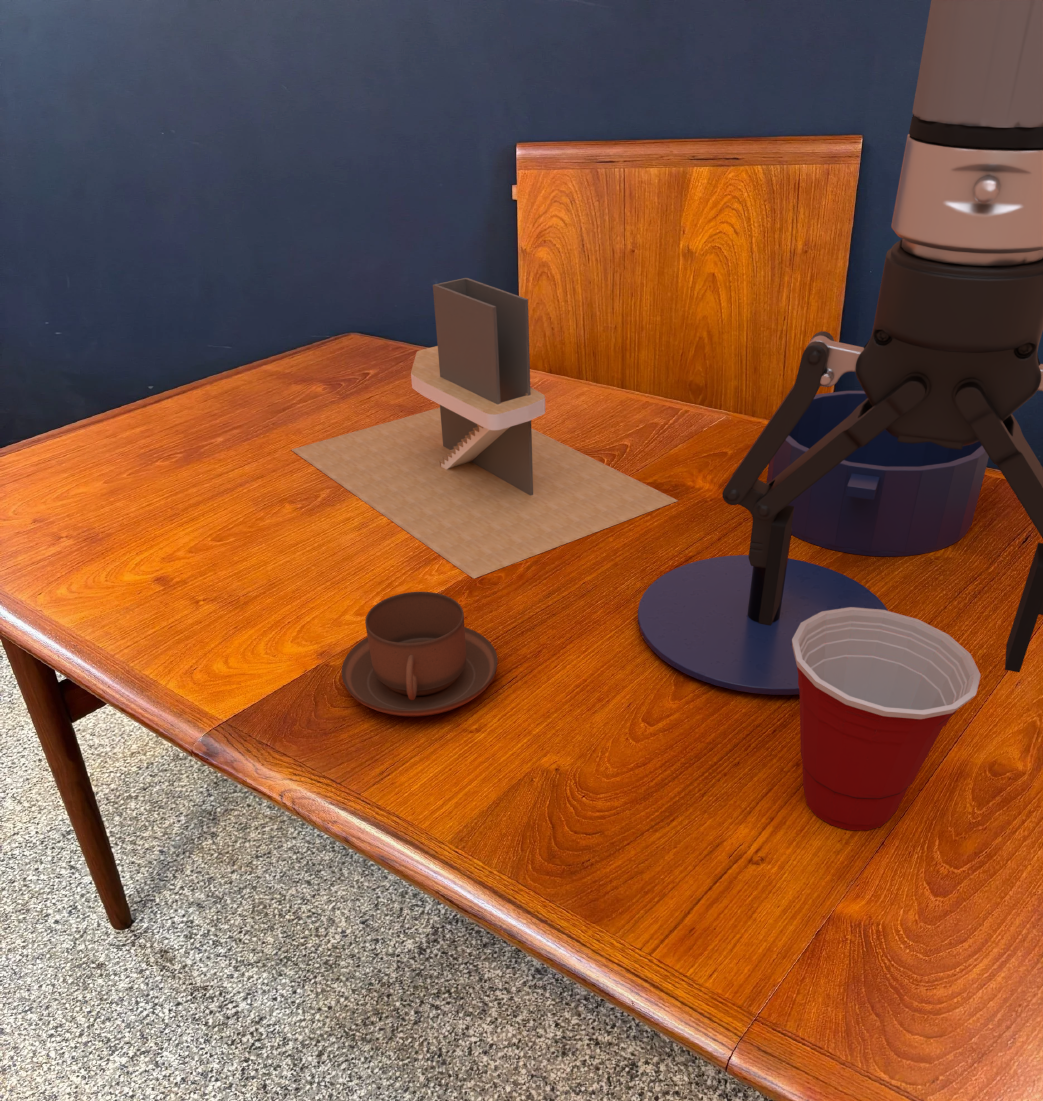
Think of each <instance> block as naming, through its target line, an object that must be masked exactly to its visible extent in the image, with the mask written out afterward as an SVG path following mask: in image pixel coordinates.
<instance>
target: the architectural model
mask: <svg viewBox="0 0 1043 1101" xmlns="http://www.w3.org/2000/svg"><path fill="white" fill-rule="evenodd" d="M432 290H433V291H432V294H433V305H434V306H433V307H434V317H435V330H436V342H437V343H436V344H437V345H435V346H432V347H427V348H424V349H420V350H418V351H416V353H415V357H414V360H413V362H412V363H413V364H412V367H411V371H410V377H411V388H412V389H413V390H414V391H416V392H417V393H418V394H420V395H421V396H422V397H424V398H426V399H429V400H430V401H432V402H434V403H436V404H438V405H439V407H437V408H433V409H430V410H426V411H422V412H419V413H415V414H412V415H409V416H405V417H402V418H398V419H394V420H391V421H387V422H384V423H379V424H376V425H372V426H370V427H366V428H363V429H359V430H358V429H357V430H355V431H352V432H349V433H344V434H341V435H338V436H334V437H330V438H327V439H324V440H319V441H317V442H313V443H309V444H305V445H301V446H299V447H295V448H291V449H290V450H291V451H292V452H293V453H295V454H296V455H298V456H299V458H302V459H303V460H305V461H306V462H307V463H309V464H310V465H312V466H313V467H314V468H316V469H318V470H319V471H320V472H321V473H323V474H325V475H326V476H328V477H329V478H330V479H331V480H333V481H334V482H336V483H337V484H338V485H340V486H341V487H343V488H344V489H345V490H347V491H348V492H350V493H351V494H352V495H354V496H356V497H357V498H358V499H360V500H361V501H363V502H364V503H366V504H367V505H368V506H370V507H371V508H373V510H376V511H377V512H378V513H380V514H381V515H383V517H385V518H387V519H388V520H390V522H393V523H394V524H395V525H396V526H398V527H399V528H402V530H404V531H405V532H406V533H408V534H409V535H411V536H412V537H414V538H415V539H416V540H418V541H419V542H421V543H422V544H424V545H425V546H426V547H428V548H429V549H430V550H432V551H434V552H435V553H437V555H439V556H441V557H442V558H444V560H446V561H448V562H449V563H450V564H452V565H454V566H455V567H456V568H458V569H459V570H460V571H462V572H463V573H464V574H466V575H468V576H469V577H471V578H472V579H477V578H479V577H483V576H485V575H487V574H490V573H493V572H496V571H498V570H500V569H503V568H506V567H509V566H511V565H514V564H517V563H519V562H522V561H524V560H527V559H529V558H532V557H535V556H537V555H540V554H542V553H545V552H548V551H550V550H553V549H555V548H559V547H561V546H563V545H566V544H568V543H572V542H574V541H576V540H579V539H582V538H585V537H587V536H590V535H592V534H594V533H597V532H600V531H603V530H605V529H608V528H610V527H613V526H616V525H618V524H621V523H624V522H627V521H629V520H632V519H634V518H637V517H639V516H643V515H644V514H648V513H650V512H652V511H655V510H657V509H661V508H664V507H665V506H669V505H671V504H673V503H676V502H679V500H678V499H675V498H674V497H672V496H670V495H668V494H666V493H663V492H662V491H660V490H657V489H655V488H654V487H652V486H649V485H648V484H645V483H644V482H642V481H639V480H638V479H635V478H634V477H632V476H629V475H627V474H625V473H624V472H621V471H619V470H617V469H615V468H613V467H611V466H609V465H607V464H606V463H604V462H601V461H599V460H598V459H595V458H593V457H591V456H589V455H586V454H585V453H582V452H581V451H579V450H577V449H574V448H573V447H570V446H569V445H567V444H564V443H562V442H560V441H558V440H556V439H555V438H552V437H551V436H548V435H546V434H544V433H542V432H540V431H538V430H536V429H535V428H532V420H534V419H537V418H539V417H541V416H543V415H545V414H546V395H545V394H543V393H542V392H540V391H538V390H537V389H535V388H534V387H531V361H530V360H531V359H530V356H531V355H530V323H529V319H530V318H529V299H528V298H525V297H522V296H521V295H517V294H514V293H512V292H509V291H506V290H503V289H500V288H497V287H495V286H491V285H489V284H486V283H483V282H480V281H477V280H475V279H472V278H468V277H463V278H459V279H453V280H449V281H445V282H440V283H435V284H432Z"/></svg>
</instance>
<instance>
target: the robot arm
mask: <svg viewBox="0 0 1043 1101" xmlns="http://www.w3.org/2000/svg"><path fill="white" fill-rule="evenodd" d="M922 47H923V48H922V53H921V59H920V65H919V70H918V75H917V76H918V77H917V83H916V89H915V95H914V100H913V105H912V112H911V114H912V117H911V120H910V125H909V131H908V134H907V136H906V142H905V148H904V152H903V158H902V163H901V170H900V175H899V180H898V187H897V192H896V197H895V203H894V209H893V215H892V218H891V219H892V221H891V226H890V228H891V229H892V230H893V231H894V233H895V234H896V236H897V237H898V238H900V239H899V240H897V242H895V243H894V244H893V245H892V247H891V248H889V249H888V250H887V251H886V254H885V259H884V265H883V271H882V276H881V281H880V282H881V283H880V287H879V293H878V299H877V303H876V304H877V305H876V310H875V315H874V320H873V326H872V331H871V335H870V338H869V339H868V341H867V342H866V344H865V345H864V346H859V345H855V344H854V345H853V344H849V343H844V342H841V341H840V342H839V341H836V340H835V339H834V336H833V334H831V333H830V332H828V331H823V330H821V331H818V332H816V333H814V335H813V336H812V337H811V339H810V340H809V342H808V343H807V345H806V347H805V349H804V351H803V352H802V355H801V359H800V362H799V367H798V370H797V374H796V378H795V382H794V384H793V385H792V387H791V389H790V390H789V391H788V392H787V394H786V396H785V397H784V399H783V400H782V401H781V402H780V405H778V407H777V409H776V410H775V412H774V413H773V415H772V416H771V418H770V419H769V420H768V422H767V423H766V424H765V426H764V428H763V429H762V431H761V432H760V434H758V436H757V437H756V439H755V441H754V442H753V443H752V445H751V446H750V448H749V449H748V451H747V453H746V454H745V455H744V457H743V458H742V459H741V461H740V462H739V465H737V467H736V469H735V470H734V472H733V473H732V475H731V477H730V479H728V481H727V483H726V485H725V487H724V488H723V490H722V493H721V494H722V495H721V496H722V499H723V501H724V502H725V503H726V504H727V505H730V506H736V505H738V506H740V507H743V508H744V509H746V510H747V511H749V512H750V514H751V518H752V523H751V524H752V525H751V534H750V541H749V542H750V543H749V551H748V555H749V557H748V558H749V561H750V564H751V566H755V567H761V568H766V571H765V578H764V585H763V593H762V600H761V608H760V615H759V624H765V625H770V626H771V625H772V622H773V620H774V617H775V615H776V612H777V610H778V607H779V605H780V601H781V594H782V587H783V581H784V574H785V567H786V560H787V553H788V547H789V540H790V533H791V526H792V520H793V513H794V506H790V505H788V504H790V503H791V502H792V501H793V500H795V499H796V498H797V497H798V496H800V495H801V494H802V493H803V492H805V491H806V490H807V489H808V488H810V487H811V486H812V485H813V484H815V483H816V482H817V481H818V480H820V479H821V478H822V477H823V476H824V475H826V474H827V473H828V472H829V471H831V470H832V469H833V468H834V467H836V466H837V465H838V464H839V463H841V462H842V461H843V460H844V459H846V458H847V457H848V456H849V455H851V454H852V453H853V452H854V451H856V450H857V449H858V448H860V447H863V446H865V445H866V444H868V443H869V442H870V441H871V440H873V439H874V438H875V437H876V436H878V435H879V434H880V433H881V432H883V431H884V430H886V431H887V432H888V433H890V434H891V435H892V436H894V437H896V438H898V440H897V442H903V443H911V444H915V443H924V442H932V443H934V444H937V445H940V446H942V447H945V448H951V449H959V450H962V447H963V446H967V445H971V444H974V443H976V442H978V441H980V443H981V445H982V446H983V448H984V449H985V451H986V453H987V454H988V456H989V459H990V460H991V462H992V463H993V464H994V465H996V467H997V468H998V470H999V471H1000V472H1001V474H1002V476H1003V477H1004V479H1005V481H1006V482H1007V483H1008V485H1009V487H1010V488H1011V490H1012V491H1013V493H1014V495H1015V496H1016V498H1017V500H1018V501H1019V503H1020V505H1021V506H1022V508H1023V509H1024V511H1025V513H1026V515H1027V516H1028V517H1029V519H1030V520H1031V523H1032V524H1033V526H1034V527H1035V528H1036V530H1037V532H1038V533H1039V535H1040V537H1041V538H1042V539H1043V466H1042V465H1041V462H1040V461H1039V460H1038V458H1037V456H1036V454H1035V453H1034V451H1033V449H1032V448H1031V446H1030V444H1029V443H1028V441H1027V439H1026V438H1025V437H1024V434H1023V432H1022V429H1021V426H1020V425H1019V423H1018V421H1017V419H1016V417H1015V416H1014V414H1013V413H1015V412H1016V411H1017V410H1018V409H1020V408H1021V407H1022V406H1023V405H1024V404H1026V403H1027V402H1028V401H1029V400H1030V399H1031V398H1033V397H1034V396H1035V395H1036V393H1037V391H1038V392H1039V391H1040V392H1043V363H1041V362H1040V358H1039V354H1038V353H1039V352H1038V350H1039V347H1040V342H1041V339H1042V335H1043V0H930V6H929V12H928V17H927V24H926V31H925V34H924V41H923V46H922ZM850 372H852V373H853V372H854V373H855V377H856V379H857V380H858V382H859V384H860V386H861V388H862V391H864V392H865V394H866V396H867V397H868V398H867V399H866V400H865V401H864V402H862V403H861V404H860V405H859V406H858V407H857V408H856V409H855V410H854V411H853V412H852V413H851V414H850V415H849V416H848V417H847V418H846V419H845V420H843V421H842V422H841V423H840V424H839V425H837V426H836V427H835V428H834V429H833V430H831V431H830V432H829V433H828V434H827V435H825V436H824V437H823V438H822V439H821V440H819V441H818V442H817V443H816V444H815V445H813V446H812V447H811V448H810V449H809V450H807V451H806V452H805V453H804V454H803V455H801V456H800V457H799V458H798V459H797V460H796V461H794V462H793V463H792V464H791V465H790V466H788V467H787V468H786V469H785V470H784V471H782V472H781V473H780V474H779V475H778V476H776V477H775V478H774V479H773V480H772V481H770V482H769V481H767V480H766V482H764V481H762V480H760V479H759V478H760V477H761V475H762V474H763V473H764V471H765V469H767V467H768V466H769V462H770V461H771V459H772V458H773V457H774V455H775V454H776V452H777V451H778V450H779V448H780V447H781V445H782V444H783V443H784V441H785V440H786V438H787V437H788V436H789V434H790V433H791V431H792V430H793V428H794V427H795V426H796V424H797V423H798V421H799V420H800V419H801V417H802V416H803V414H804V413H805V412H806V410H807V409H808V407H809V406H810V404H811V402H812V401H813V399H814V397H815V395H817V394H818V391H819V390H820V388H821V387H822V388H831V387H833V386H835V385H836V384H837V383H838V381H839V380H840V378H841V377H842V376H843V375H845V374H846V373H850ZM790 541H791V540H790ZM1039 615H1040V616H1043V542H1037V544H1036V548H1035V552H1034V555H1033V558H1032V561H1031V565H1030V567H1029V571H1028V574H1027V577H1026V580H1025V584H1024V587H1023V590H1022V593H1021V596H1020V600H1019V603H1018V606H1017V609H1016V612H1015V615H1014V619H1013V621H1012V622H1013V623H1012V625H1011V629H1010V632H1009V635H1008V639H1007V642H1006V645H1005V646H1006V647H1005V663H1004V671H1009V672H1014V673H1021V670H1022V666H1023V663H1024V660H1025V658H1026V654H1027V651H1028V648H1029V645H1030V642H1031V640H1032V637H1033V633H1034V631H1035V627H1036V624H1037V621H1038V618H1039Z"/></svg>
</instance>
